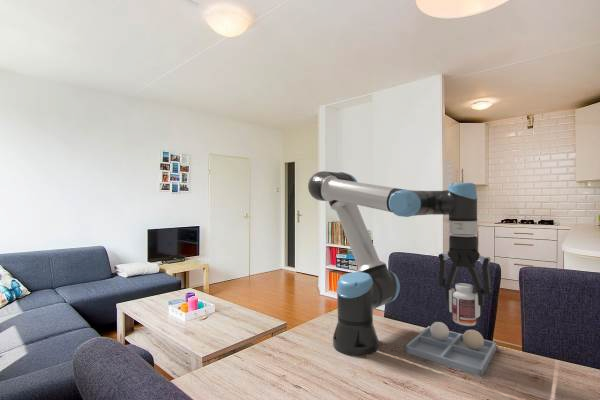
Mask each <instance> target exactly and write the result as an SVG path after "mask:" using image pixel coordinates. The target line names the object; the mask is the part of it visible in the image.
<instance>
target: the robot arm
mask: <svg viewBox="0 0 600 400" xmlns="http://www.w3.org/2000/svg"><path fill="white" fill-rule="evenodd" d="M307 188H308V193H309V194H310V196H311V197H313V198H314V199H315V200H317V201H319V202H320V201H322V202H328V204H329V206H330V209H331V210H334V211H336V215H337V217H338V219H339V222H340V224H341V227H342V230H343V232H344V235H345V238H346V240H347V243H348V245H349V247H350V251H351V254H352V257H353V258H354V261H355V264H356V266H357V270H356V271H355V272H347V273H344V274H343V275H341V276H340V277H339V278H338V280H337V287H336V292H337V293H336V294H337V296H336V297H337V323H336V326H335V330H334V333H333V336H332V346H333V347H334V349H335V350H336V351H338V352H339V353H342V354H345V355H347V356H348V355H349V356H357V357H360V356H361V357H362V356H369V355H372V354H375V353H376V352H377V351H378V348H379V346H380V345H379V338H378V335H377V332H376V329H375V325H374V318H373V317H374V311H373V310H375V309H377V308H380V307H382V306H384V305H389V304H390V303H392V302H393V301H395V300H396V298H397V297H398V296H399V293H400V291H401V290H400V289H401V285H400V284H401V283H400V281H399V278H398V276H397V275H396V274H395V272H392V270H389V269H388V267H387V264H386V263H385V262H383V261H381V260H380V258H379V255H378V254H377V251H376V248H375V245H374V244H373V241H372V238H371V236H370V233H369V230H368V228H367V227H366V223H365V221H364V219H363V216H362V214H361V212H360V209H359V207H360V206H361V207H366V208H370V209H374V210H380V211H384V212H389V213H393V214H394V215H395V216H397V217H404V218H410V217H416V216H427V215H433V216H435V215H443V216H445V215H446V216H447V215H448V233H449V234H450V235H449V236H448V239H449V240H448V242H449V243H448V245H449V247H448V248H449V249H448V251H447V252H442V253H440V254H438V258H439V275H438V276H439V277H438V286H439V287H442V288H444V289H445V300H447V301H448V307H449V310H448V311H449V313H453V292H454V291H455V288H452V287H453V284H454V282H455V281H454V280H455V278H456V276H457V272H458V269H459V268H460V267H461V268H462V267H464V268H467V270H468V271H469V274H470V276H471V279H472V281H473V283H474V287H475V290H476V292H475V293H474V294H475V317H476V319H479V317H480V316H481V307H482V306H484V304H485V294H487V295H488V294H490V293H491V292H492V283H491V275H490V263H491V257H489V256H487V257H486V256H483V255H481V254H480V252H479V241H478V239H479V238H478V236H477V235H478V233H479V230H478V225H479V224H478V195H477V192H478V191H477V185H476V184H475V183H474V182H473V183H472V182H454V183H449V184H448V187H447V189H445V190H444V189H443V190H411V189H404V188H396V187H390V186H383V185H377V184H371V183H365V182H358V180H357V179H356V177H354V176H353V175H352V174H350V173H347V172H342V171H340V172H335V171H334V172H333V171H318V172H316V173H314V174H313V175H312V176H311V177H310V178H309V180H308V183H307ZM358 206H359V207H358ZM448 259H450V260H451V262H452V265H451V268H450V272H449V275H448V277H447V263H448ZM478 261H479V262H480V264H481V265H482V267H481V268H482V269H481V270H482V278H483V279H482V280H483V284H482V281H481V278H480V276H479V273H478V270H477V267H476V266H477V265H476V263H477V262H478ZM446 278H447V279H446ZM446 280H447V281H446Z"/></svg>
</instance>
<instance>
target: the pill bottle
mask: <svg viewBox="0 0 600 400" xmlns="http://www.w3.org/2000/svg"><path fill="white" fill-rule="evenodd" d="M454 287H455V288H454V289H455V290H454V292H453V312H452V320H453V322H454V323H455V324H457V325H460V326H465V327H466V326H467V327H473V326H475V325H476V324H477V318H476V317H475V294H476V293H474V285H472V284H471V283H470V284H469V283H462V282H458V283H455V286H454Z"/></svg>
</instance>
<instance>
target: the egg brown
mask: <svg viewBox="0 0 600 400" xmlns="http://www.w3.org/2000/svg"><path fill="white" fill-rule="evenodd" d="M462 334H463V342H464V344H465V345H466V346H467V347H468V348H469V349H471V350H479V349H481V348H482V347H483V345H484V340H485V339H484V337H483V335H482V334H481V333H480V332H479V331H477V330H475V329H468V330H465V332H464V333H462Z"/></svg>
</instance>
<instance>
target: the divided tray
mask: <svg viewBox="0 0 600 400" xmlns="http://www.w3.org/2000/svg"><path fill="white" fill-rule="evenodd" d="M430 327H431V326H430V325H428V326H427V327H425V328H424V329H423V330H422V331H420V333H418V334H417V335H416V336H415V337H414V338H413V339H411V340H410V341H409V342H408V343H407V344H406V345H405V346H404V353H406V354H409V355H411V356H414V357H417V358H418V357H419V358H421V359H424V360H429V361H431V362H434V363H436V364H441V365H443V366H447V367H449V368H453V369H456V370H459V371H463V372H465V373H469V374H471V375H475V376H477V377H482V378H483V375H484V373H485V372H486V370H487V368H488V365H490V364H489V363H490V362H491V360H492V359H493V356H494V354H495V353H496V350H497V349H498V342H496V341H492V340H488V339H484V345H483V347H482V348H481V349H479V350H471V349H469V348H468V347H467V346H466V345H465V344H464V342H463V334H464V333H460V332H459V333H458V332H455V331H451V330H449V336H448V338H447V339H446V340H444V341H438V340H436V339H434V338H433V337H432V335H431V333H430Z"/></svg>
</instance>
